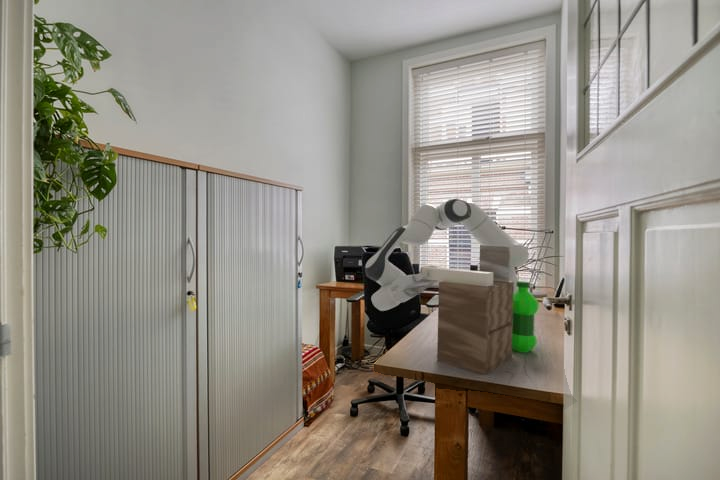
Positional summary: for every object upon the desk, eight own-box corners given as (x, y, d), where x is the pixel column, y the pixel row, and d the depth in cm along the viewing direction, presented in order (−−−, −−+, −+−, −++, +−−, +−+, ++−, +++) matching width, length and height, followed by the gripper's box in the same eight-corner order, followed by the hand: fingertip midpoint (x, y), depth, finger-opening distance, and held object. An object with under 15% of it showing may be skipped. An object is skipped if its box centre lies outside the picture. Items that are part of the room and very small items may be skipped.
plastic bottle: (528, 357, 119) (530, 284, 119) (500, 348, 128) (502, 281, 127) (542, 351, 125) (544, 282, 125) (515, 343, 134) (516, 279, 133)
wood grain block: (468, 345, 130) (470, 244, 129) (511, 356, 119) (514, 246, 118) (437, 360, 114) (439, 245, 113) (484, 375, 103) (487, 247, 102)
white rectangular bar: (427, 277, 125) (427, 266, 125) (493, 285, 108) (493, 272, 108) (420, 278, 122) (420, 267, 122) (486, 286, 105) (487, 273, 105)
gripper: (384, 282, 123) (412, 265, 114) (417, 277, 137) (444, 262, 129) (391, 299, 121) (420, 283, 112) (423, 292, 135) (451, 278, 127)
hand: (433, 272), depth 121 cm, fingers open, 6 cm apart
